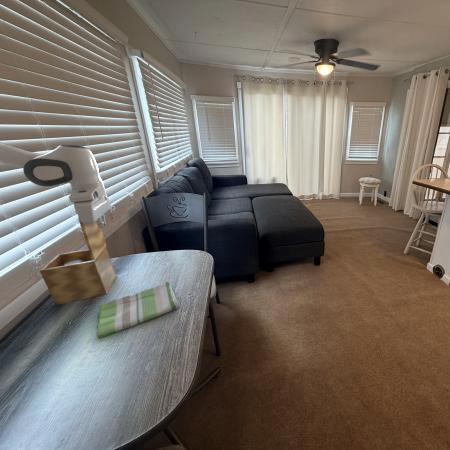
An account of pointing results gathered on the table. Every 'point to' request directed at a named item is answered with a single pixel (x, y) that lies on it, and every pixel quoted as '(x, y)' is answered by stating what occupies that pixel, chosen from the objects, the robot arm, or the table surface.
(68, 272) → the box
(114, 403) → the table surface
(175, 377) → the table surface
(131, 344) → the table surface
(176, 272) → the table surface
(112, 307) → the dish towel
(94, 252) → the lid
